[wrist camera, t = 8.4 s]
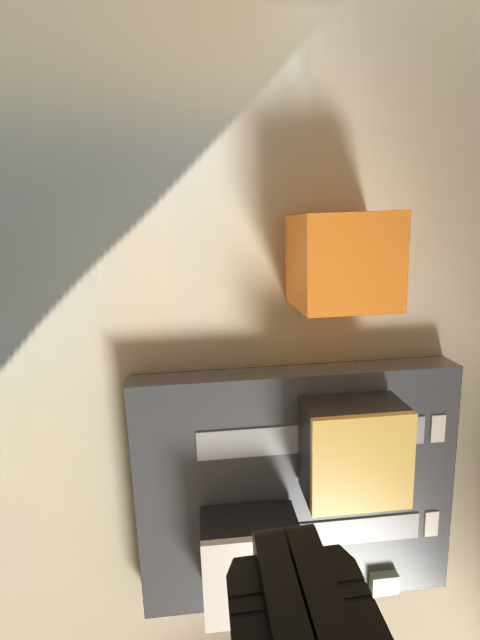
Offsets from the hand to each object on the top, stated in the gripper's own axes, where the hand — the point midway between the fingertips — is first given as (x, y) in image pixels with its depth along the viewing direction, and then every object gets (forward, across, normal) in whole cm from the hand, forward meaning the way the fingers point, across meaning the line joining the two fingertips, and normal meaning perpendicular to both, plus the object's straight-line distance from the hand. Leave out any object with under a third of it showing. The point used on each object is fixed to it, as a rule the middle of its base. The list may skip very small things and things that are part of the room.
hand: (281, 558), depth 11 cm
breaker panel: (+14, -3, +7) cm, 16 cm away
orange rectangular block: (+14, -6, -6) cm, 17 cm away
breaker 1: (+12, 0, +10) cm, 16 cm away
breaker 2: (+12, -6, +4) cm, 14 cm away
